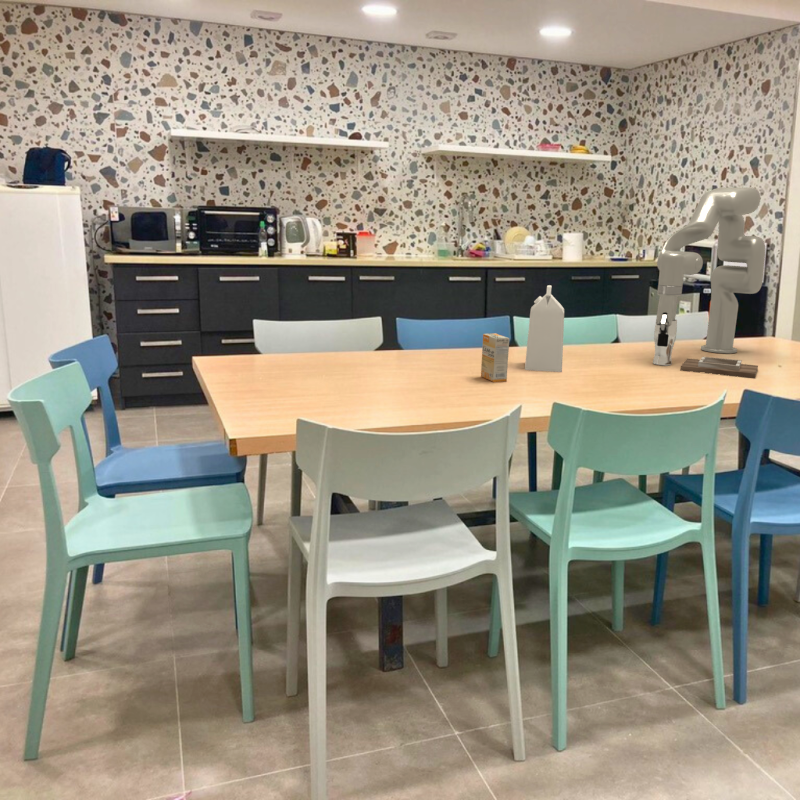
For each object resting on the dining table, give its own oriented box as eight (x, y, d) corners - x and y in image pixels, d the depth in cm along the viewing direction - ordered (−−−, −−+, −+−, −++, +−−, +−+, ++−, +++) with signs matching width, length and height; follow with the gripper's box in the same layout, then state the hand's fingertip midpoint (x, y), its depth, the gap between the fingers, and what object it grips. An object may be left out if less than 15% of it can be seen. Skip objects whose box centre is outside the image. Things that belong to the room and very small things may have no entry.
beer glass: (674, 366, 251) (679, 321, 248) (652, 365, 253) (657, 320, 249) (671, 362, 258) (676, 318, 254) (650, 361, 259) (654, 317, 256)
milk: (561, 372, 237) (568, 288, 231) (524, 369, 239) (530, 286, 233) (561, 365, 249) (567, 285, 243) (526, 363, 251) (531, 283, 245)
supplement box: (479, 376, 227) (482, 333, 224) (494, 376, 228) (496, 333, 225) (492, 382, 219) (495, 337, 216) (507, 381, 221) (510, 337, 218)
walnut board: (686, 362, 259) (687, 354, 258) (757, 370, 249) (758, 361, 248) (680, 370, 245) (681, 361, 244) (754, 378, 235) (756, 368, 235)
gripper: (662, 288, 259) (656, 340, 263) (653, 292, 244) (647, 347, 248) (685, 289, 255) (679, 342, 259) (677, 293, 240) (671, 349, 244)
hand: (664, 344), depth 254 cm, fingers closed on beer glass, 6 cm apart
